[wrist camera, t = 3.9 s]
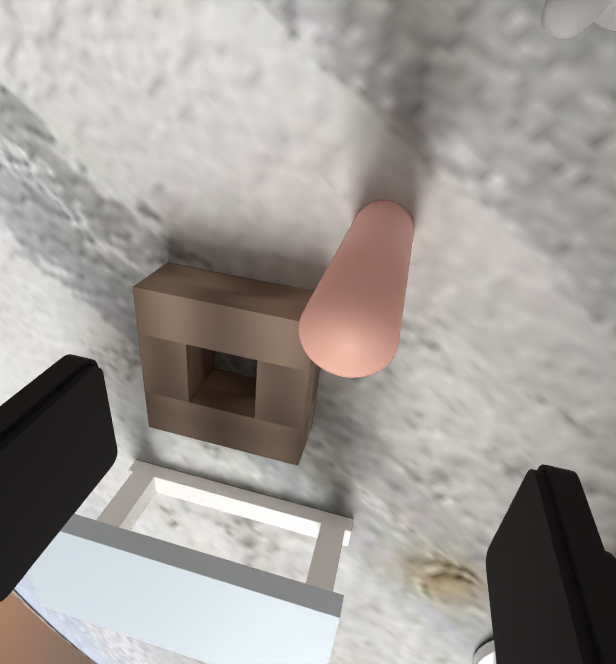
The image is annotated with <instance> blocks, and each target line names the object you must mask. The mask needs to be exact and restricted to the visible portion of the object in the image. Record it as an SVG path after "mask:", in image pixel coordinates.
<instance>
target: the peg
mask: <svg viewBox="0 0 616 664" xmlns="http://www.w3.org/2000/svg"><path fill="white" fill-rule="evenodd" d="M413 234H414V226H413V221H412V219H411V217H410V215H409V213H408V212H407V211H406V210H405V209H404V208H403V207H402V206H401V205H399V204H397V203H395V202H392V201H386V200H381V201H375V202H372V203H370V204H368V205H366V206H365V207H364V208H362V209H361V210H360V212H359V213H358V214H357V216H356V218H355V219H354V221H353V223H352V225H351V227H350V228H349V230H348V232H347V234H346V236H345V237H344V239H343V241H342V243H341V245H340V246H339V248H338V250H337V252H336V254H335V255H334V257H333V259H332V261H331V263H330V264H329V266H328V268H327V270H326V271H325V273H324V275H323V277H322V279H321V280H320V282H319V284H318V286H317V288H316V289H315V291H314V293H313V295H312V297H311V298H310V300H309V302H308V304H307V306H306V307H305V309H304V311H303V313H302V315H301V318H300V322H299V337H300V341H301V344H302V346H303V348H304V350H305V352H306V353H307V355H308V356H309V358H310V359H311V360H312V361H313V362H314V363H316V364H317V365H318V366H319V367H321V368H322V369H324V370H326V371H328V372H330V373H332V374H335V375H338V376H342V377H350V378H357V377H365V376H368V375H372V374H374V373H376V372H378V371H380V370H382V369H383V368H384V367H385V366H387V365H388V364H389V363H390V362H391V360H392V359H393V357H394V355H395V353H396V351H397V348H398V344H399V337H400V330H401V322H402V315H403V308H404V300H405V293H406V285H407V278H408V271H409V263H410V256H411V248H412V241H413Z"/></svg>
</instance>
